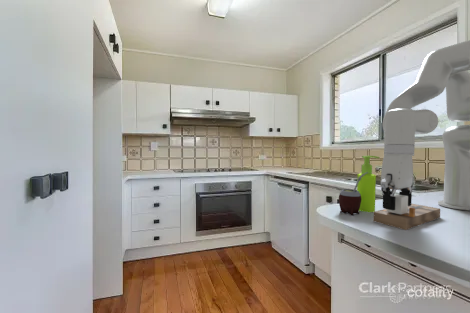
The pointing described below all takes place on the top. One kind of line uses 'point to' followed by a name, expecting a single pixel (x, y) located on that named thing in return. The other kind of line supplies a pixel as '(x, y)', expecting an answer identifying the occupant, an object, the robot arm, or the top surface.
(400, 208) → the fader knob
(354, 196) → the mate gourd
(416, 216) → the fader console
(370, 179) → the soap dispenser
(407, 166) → the robot arm
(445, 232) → the top surface
